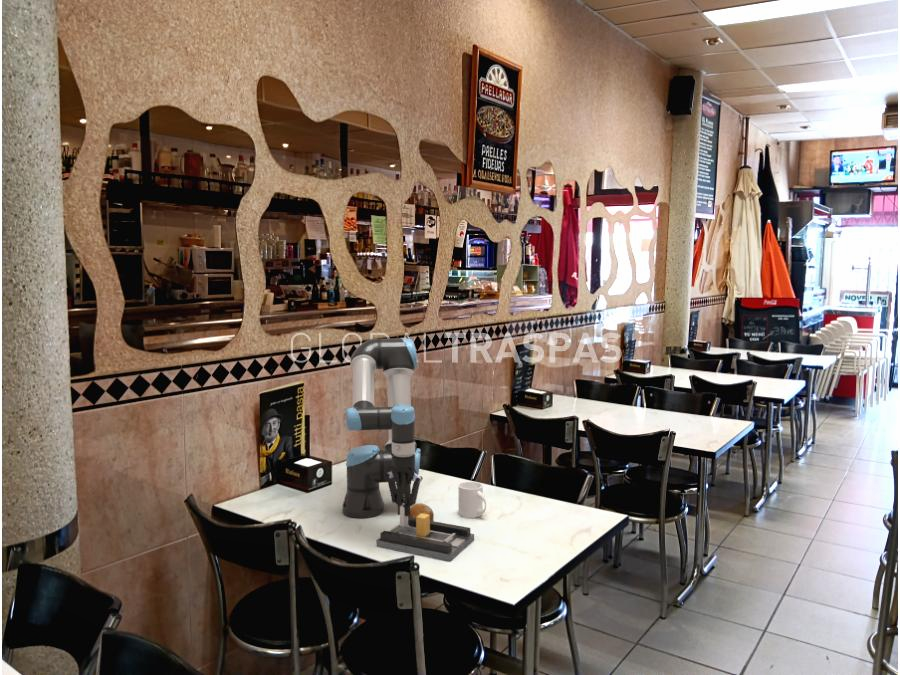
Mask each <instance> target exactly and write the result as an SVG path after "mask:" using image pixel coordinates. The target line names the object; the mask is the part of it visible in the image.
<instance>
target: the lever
mask: <svg viewBox="0 0 900 675" xmlns="http://www.w3.org/2000/svg"><path fill="white" fill-rule="evenodd" d="M429 535H430V515H428V514H422V513H421V514H420V515H418V516H417V517H416V536H420V537H425V538H427V537H428V536H429Z"/></svg>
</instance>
